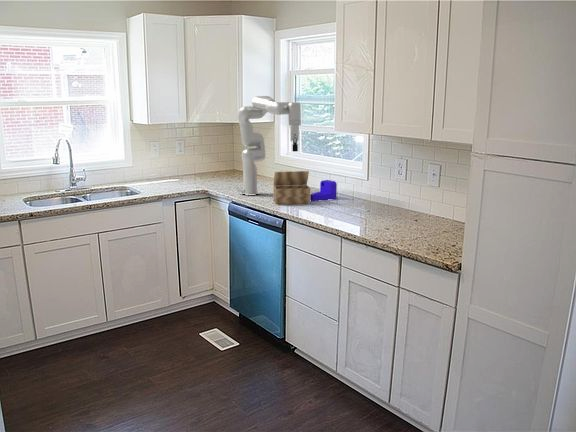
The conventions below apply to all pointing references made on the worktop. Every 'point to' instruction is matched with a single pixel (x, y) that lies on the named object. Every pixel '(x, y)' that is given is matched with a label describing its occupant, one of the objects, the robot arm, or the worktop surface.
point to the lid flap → (290, 178)
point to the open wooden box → (291, 194)
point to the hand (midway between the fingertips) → (295, 150)
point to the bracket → (325, 191)
